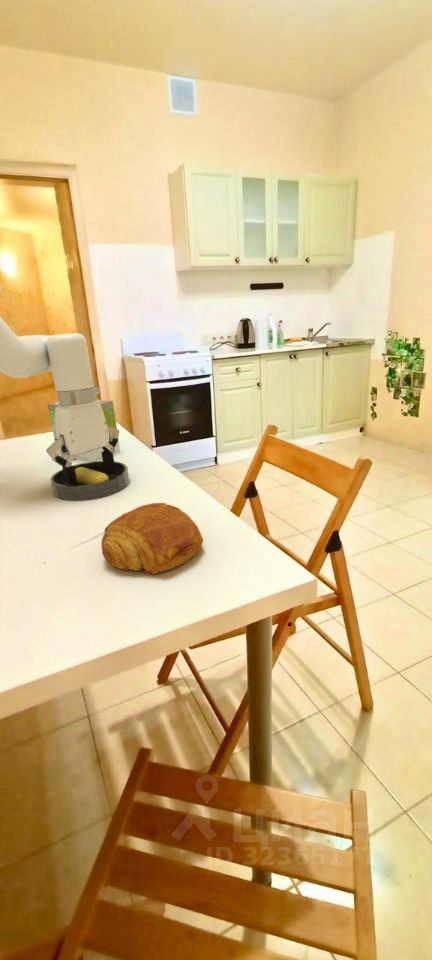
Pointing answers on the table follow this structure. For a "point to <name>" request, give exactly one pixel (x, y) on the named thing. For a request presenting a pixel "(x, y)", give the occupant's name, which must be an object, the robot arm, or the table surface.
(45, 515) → the table surface
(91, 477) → the banana
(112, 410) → the tea box
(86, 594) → the table surface
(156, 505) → the croissant
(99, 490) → the shallow dish
